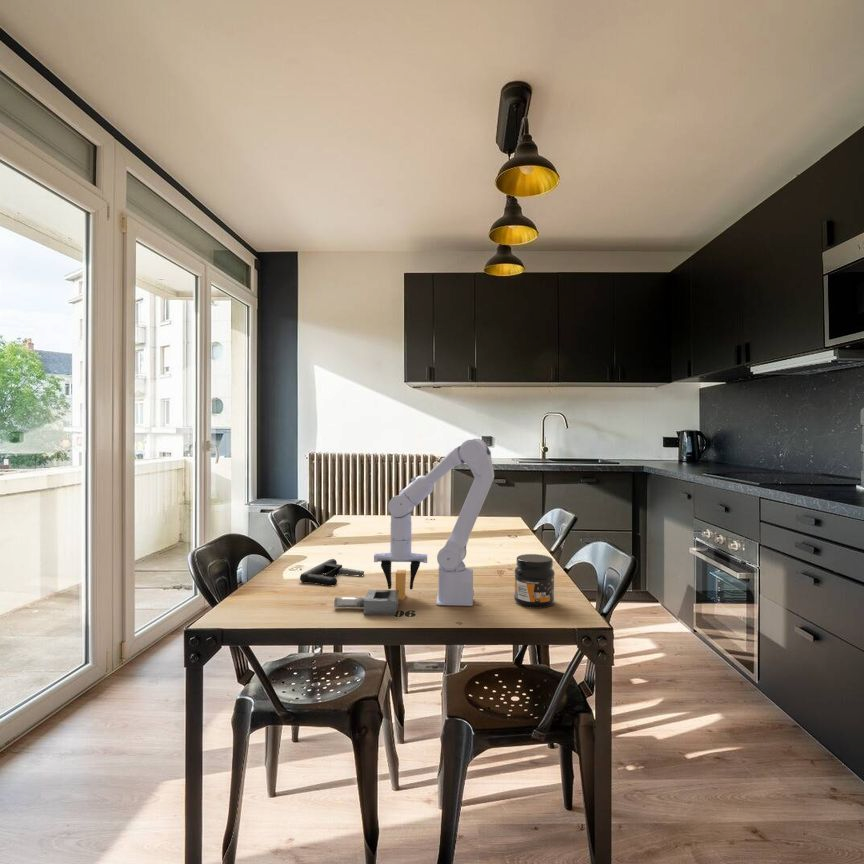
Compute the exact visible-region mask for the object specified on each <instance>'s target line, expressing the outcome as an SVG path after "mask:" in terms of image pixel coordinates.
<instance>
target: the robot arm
mask: <svg viewBox="0 0 864 864" xmlns="http://www.w3.org/2000/svg"><path fill="white" fill-rule="evenodd" d="M464 464H466V465H467V467H469V469H470V472H471V473H472V475H473V479H474V480H473V481H472V484H471V486H470V488H469V490H468V493H467V496H466V498H465V501H464V503H463V505H462V508H461V510H460V513H459V514H458V517H457V519H456V522H455V524H454V527H453V528H452V532H451V533H450V535H449V537H448V539H447V541H446V542H445V543H446V544H445V545H444V546H443V547H442V548H441V549H439V550H438V552H437V556H436V558H437V560H436V561H437V563H438V580H437V582H438V586H437V587H438V593H437V595H436V605H437V606H461V607H462V606H464V607H465V606H466V607H467V606H469V607H473V606H474V596H475V590H474V570H473V568H469V567H466V564H465V561H464V559H465V558H466V556H467V545H468V542H469V539H470V536H471V533H472V530H473V529H474V526H475V524H476V522H477V519H478V516H479V514H480V512H481V509H482V507H483V505H484V502H485V500H486V498H487V496H488V493H489V490H490V489H491V486H492V483H493V482H494V479H495V470H494V466H493V461H492V451H491V450H490V448H489V447H488V445H487V443H486V442H485V441H484V440H482V439H480V438H472V439H467V440H464V441H463V442H462V444H461V445H458V446H456V447H455V448H454V449H453V450H451V451H450V452H449V453H447V454H446V456H444V457H443V459H441V461H440V462H438V463H437V464H436V465H435V466H434V467H433V468H432V469H431V470H430V471H429V472H428V473H427V474H425V475H418V476H417V477H416V476H413V477H412V478H411V479H410V481H411V482H410V483H409V484H408V485H407V486H405V488H401V489H399V491H398V493H399V494H398V495H394V496H392V497H391V499H390V500H389V502H388V504H387V506H388V507H387V509H388V512H389V514H390V541H389V543H390V547H389V548H390V549H389V551H390V552H384V553H383V552H382V553H374V555H373V562H374V563H378V562H380V567H381V570H382V571H383V573H384V576H385V579H386V584H387V590H392V585H393V584H392V563H393V562H394V563H410V565H409V566H410V567H409V568H410V571H409V572H410V580H409V590H413V588H414V582H415V578H416V576H417V573H418V570H419V569H420V564H421V563H423V564H427V563H428V553H427V554H426V553H415V552H414V553H413V552H412V512H413V511H414V508H415V507H417V506H418V505H420V504H421V503H422V501H424V500H425V499H426V498H427V497H428V496H429V495H430V494H431V493H433V491H434V484H436V483H437V482H438V481H439V480H440V479H441V478H443V477H444V476H445V475H446V474H448V472H450V471H452V469H453V468H455V467H457V466H460V465H464Z"/></svg>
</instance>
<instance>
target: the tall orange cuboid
mask: <svg viewBox="0 0 864 864" xmlns="http://www.w3.org/2000/svg"><path fill="white" fill-rule="evenodd" d="M406 571H407V570H406V569H396V572H395V590H399V600H405V599H404V598H406V576H407V575H406V573H407V572H406Z"/></svg>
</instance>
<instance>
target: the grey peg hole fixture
mask: <svg viewBox="0 0 864 864" xmlns="http://www.w3.org/2000/svg"><path fill="white" fill-rule="evenodd" d="M399 603H400V599H399V590H396V589H368V591H367V593H366V595H365V596H364V597H334V603H333V604H334V605H333V606H334V608H353V609H354V608H357V609H359V608H360V609H361V608H362V609H363V615H364V616H365V615H366V616H397V613H396V612H398V609H397V608H399V605H400V604H399ZM398 604H399V605H398Z"/></svg>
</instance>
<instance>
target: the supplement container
mask: <svg viewBox="0 0 864 864" xmlns="http://www.w3.org/2000/svg"><path fill="white" fill-rule="evenodd" d="M553 562H554V559H553V558H552V557H551V556H548V555H545V554H536V553H525V554H520V555H518V556H517V557H516V567H515V568H514V601H515V603H516V604H518V605H520V606H522V607H526V608H530V607H531V609H544V607H545V608H548V607H551V606H552V605H553V604H554V602H555V573H556V572H555V570H554V569H553V566H554V563H553Z"/></svg>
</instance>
